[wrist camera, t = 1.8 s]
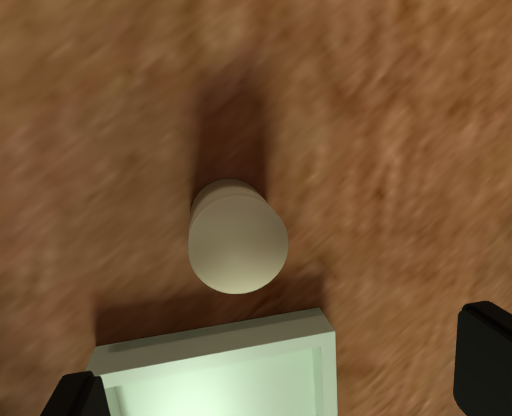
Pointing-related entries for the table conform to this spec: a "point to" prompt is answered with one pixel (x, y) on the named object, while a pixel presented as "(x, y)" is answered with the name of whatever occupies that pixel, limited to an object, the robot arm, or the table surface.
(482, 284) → the table surface
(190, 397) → the bin
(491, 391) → the robot arm
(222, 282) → the beige cylinder
